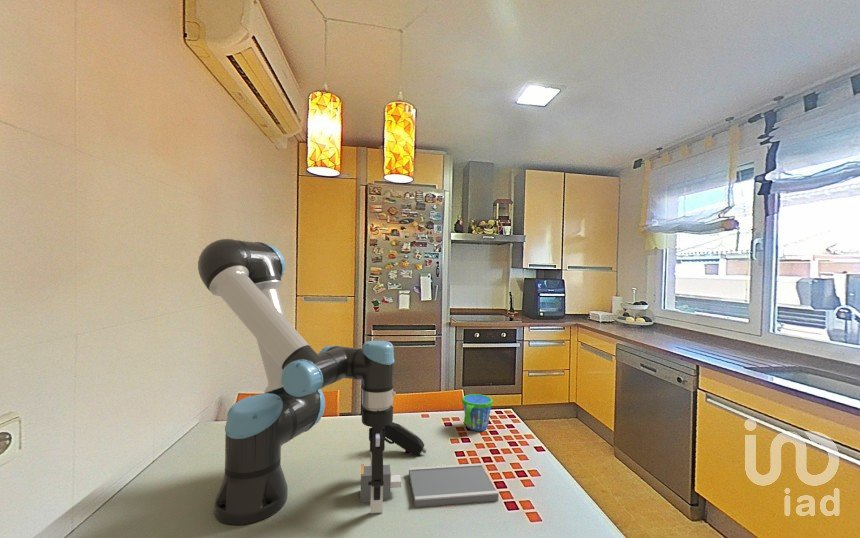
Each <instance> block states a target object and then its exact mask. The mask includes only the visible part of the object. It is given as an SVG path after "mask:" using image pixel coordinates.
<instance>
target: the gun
mask: <svg viewBox="0 0 860 538" xmlns="http://www.w3.org/2000/svg"><path fill="white" fill-rule="evenodd" d="M384 427H385V432H386V437H385V442H386V443H388V444H390V445H393V444H395V445H397V446H398V447H399V448H401V449H403V450H404V451H406V452H407V453H409V454H411V455H412V456H414V457H419V456H420V454H422V453H424V454H426V453H427V452H428V451H427V449H426V448H425V443H424V441H423V440H422V439H421V438H420V437H419V436H418V435H417V434H416V433H414V432H413V431H411V430H409V429H408V428H406V427H405V426H403V425H401V424H399V423H396V422H393V421H392V422H391V423H390V424H389V425H387V426H384Z"/></svg>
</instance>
